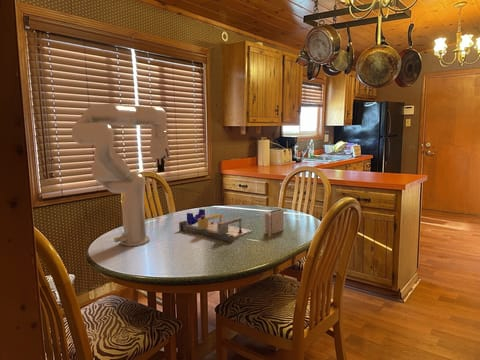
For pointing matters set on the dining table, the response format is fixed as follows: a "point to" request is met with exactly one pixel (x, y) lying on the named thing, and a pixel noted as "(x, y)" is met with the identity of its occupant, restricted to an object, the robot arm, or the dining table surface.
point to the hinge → (273, 221)
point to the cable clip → (192, 219)
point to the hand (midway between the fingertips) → (161, 172)
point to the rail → (205, 232)
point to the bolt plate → (231, 229)
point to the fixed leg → (224, 225)
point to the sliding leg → (204, 220)
